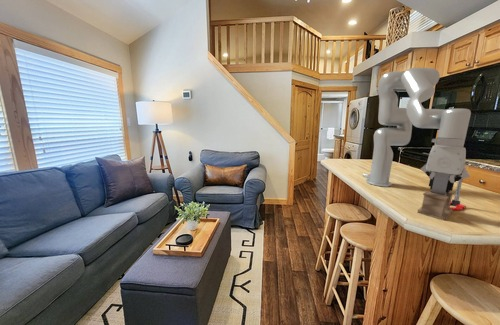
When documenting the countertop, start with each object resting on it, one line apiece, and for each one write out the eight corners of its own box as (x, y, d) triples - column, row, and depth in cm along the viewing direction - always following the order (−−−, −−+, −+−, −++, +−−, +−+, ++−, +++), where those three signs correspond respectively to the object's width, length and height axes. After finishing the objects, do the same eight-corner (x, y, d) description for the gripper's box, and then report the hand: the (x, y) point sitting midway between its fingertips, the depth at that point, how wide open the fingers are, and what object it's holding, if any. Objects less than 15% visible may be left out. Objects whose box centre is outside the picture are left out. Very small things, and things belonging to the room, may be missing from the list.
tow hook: (452, 212, 85) (468, 209, 87) (458, 181, 82) (474, 179, 84) (430, 204, 93) (445, 202, 95) (434, 176, 90) (450, 174, 92)
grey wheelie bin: (429, 194, 82) (434, 169, 80) (432, 192, 85) (437, 168, 83) (445, 198, 79) (450, 172, 77) (447, 196, 82) (453, 170, 80)
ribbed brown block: (417, 212, 82) (421, 192, 81) (426, 205, 91) (430, 186, 89) (444, 220, 76) (449, 199, 75) (452, 211, 84) (456, 192, 83)
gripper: (418, 141, 82) (410, 186, 86) (481, 146, 69) (468, 198, 73) (424, 140, 87) (416, 183, 90) (484, 145, 74) (472, 194, 77)
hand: (439, 189), depth 81 cm, fingers closed on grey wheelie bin, 4 cm apart
